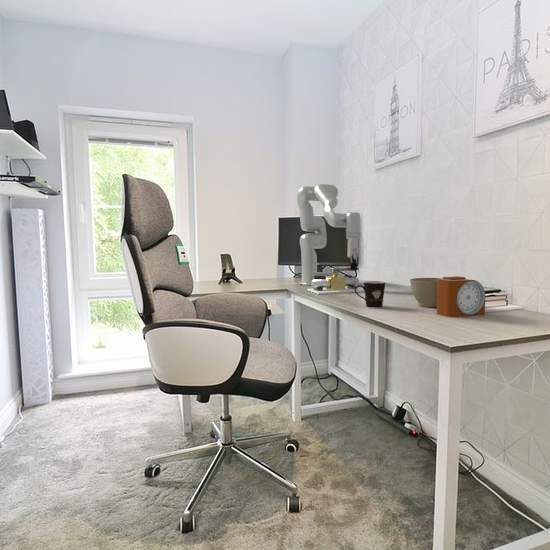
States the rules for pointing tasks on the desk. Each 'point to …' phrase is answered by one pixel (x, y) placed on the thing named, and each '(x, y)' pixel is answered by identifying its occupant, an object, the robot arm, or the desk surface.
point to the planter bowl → (425, 291)
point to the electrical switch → (320, 275)
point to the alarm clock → (460, 297)
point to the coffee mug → (373, 293)
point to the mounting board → (336, 291)
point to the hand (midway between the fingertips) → (353, 270)
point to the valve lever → (342, 269)
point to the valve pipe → (334, 283)
